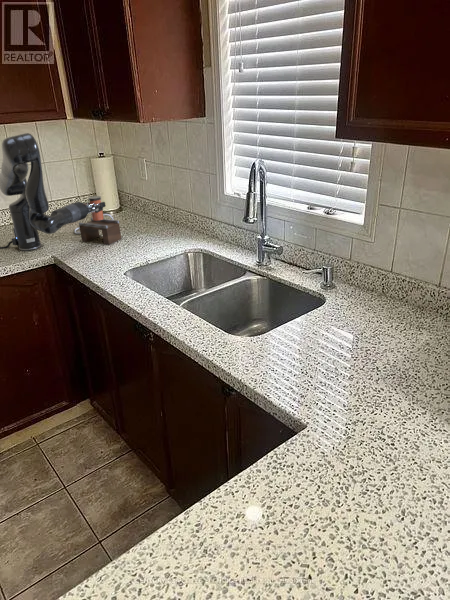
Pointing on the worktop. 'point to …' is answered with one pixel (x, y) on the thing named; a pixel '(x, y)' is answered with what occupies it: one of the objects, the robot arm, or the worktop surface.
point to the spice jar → (98, 215)
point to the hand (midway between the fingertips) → (99, 203)
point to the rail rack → (107, 226)
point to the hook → (79, 228)
